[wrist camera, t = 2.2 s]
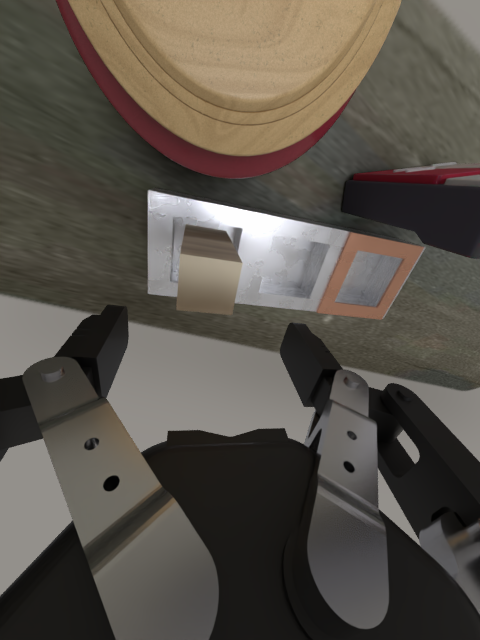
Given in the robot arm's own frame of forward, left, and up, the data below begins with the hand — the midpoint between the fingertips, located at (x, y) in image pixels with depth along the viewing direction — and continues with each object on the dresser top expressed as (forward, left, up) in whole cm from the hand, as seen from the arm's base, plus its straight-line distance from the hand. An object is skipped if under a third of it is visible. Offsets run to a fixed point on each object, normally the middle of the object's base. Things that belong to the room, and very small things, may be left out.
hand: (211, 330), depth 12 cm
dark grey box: (-9, +19, -16) cm, 27 cm away
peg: (0, 0, -15) cm, 15 cm away
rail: (0, +9, -16) cm, 18 cm away
